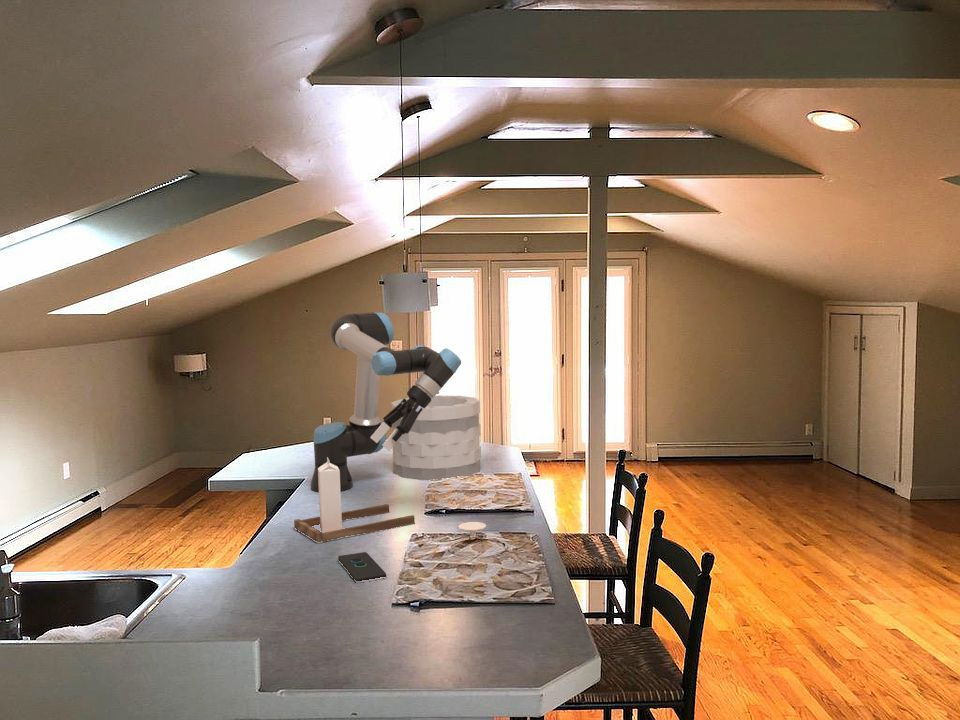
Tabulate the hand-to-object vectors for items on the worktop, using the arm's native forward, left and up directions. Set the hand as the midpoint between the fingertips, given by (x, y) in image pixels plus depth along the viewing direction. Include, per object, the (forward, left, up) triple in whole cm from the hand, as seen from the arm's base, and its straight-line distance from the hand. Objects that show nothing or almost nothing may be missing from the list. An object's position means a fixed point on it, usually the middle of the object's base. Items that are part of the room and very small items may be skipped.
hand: (379, 444), depth 264 cm
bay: (-2, -9, -25) cm, 26 cm away
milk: (-1, -17, -25) cm, 30 cm away
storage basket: (-53, +51, -25) cm, 78 cm away
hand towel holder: (+38, +10, -25) cm, 47 cm away
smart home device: (+35, -24, -26) cm, 50 cm away
